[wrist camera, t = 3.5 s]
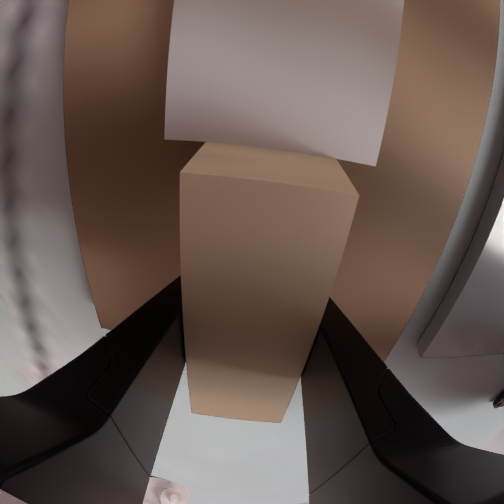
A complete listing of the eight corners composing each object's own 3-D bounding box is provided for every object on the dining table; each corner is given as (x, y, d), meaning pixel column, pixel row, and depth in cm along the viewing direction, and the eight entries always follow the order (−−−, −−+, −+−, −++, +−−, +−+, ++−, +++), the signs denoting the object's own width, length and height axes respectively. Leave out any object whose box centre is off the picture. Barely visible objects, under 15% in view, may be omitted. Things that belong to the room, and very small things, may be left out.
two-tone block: (306, 358, 12) (309, 424, 9) (180, 343, 12) (162, 407, 9) (396, -72, 4) (444, -113, 1) (202, -98, 4) (171, -153, 1)
